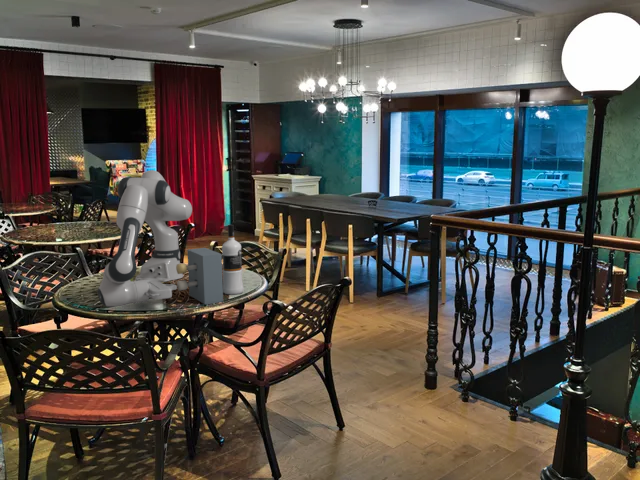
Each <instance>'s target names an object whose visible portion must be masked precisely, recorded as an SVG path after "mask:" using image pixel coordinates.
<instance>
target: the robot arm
mask: <svg viewBox="0 0 640 480" xmlns="http://www.w3.org/2000/svg"><path fill="white" fill-rule="evenodd" d="M117 195H118V198H120V201H119V203H118V207H117V212H116V225H117V227H118V228H119V229H120V232H121V233H120V240H119V243H118V248H117V252H116V254H115V256H114V257H112V259H111V260H110V262H108V263H107V264H106V266H104V267H105V268H104V270H103V277H102V279H101V282H100V285H99V287H98V288H97V297H98V300H99V301H100V303H101V304H102V305H103V306H104V307H110V308H111V307H121V306H126V305H128V304H141V303H147V302H148V301H149V299H152V300H164V299H165V300H166V299H170V298H172V296H173V291H175V290H178V287H177V284H175V283H170V284H169V283H164V282H169V281H174V280H179V279H182V278H183V277H184V273H182V274H178V273H177V270H176V266H177V264H181V261H180V260H181V251H180V247H179V234H178V232H177V231H176V230H175V229H174V228H171V227H170V226H168V225H167V224H166V222H180V221H184V220H188V219H189V218H190V217H191V216H192V214H193V206H192V204H191V202H190V201H189V200H188V199H186V198H184V197H180V196H179V195H176V194H174V192H172V191H171V185H170V184H169V183H168V181H166V180H165V178H164V177H163V175H162V174H161V173H160V172H159V171H156V170H154V169H153V170H152V169H151V170H147V171H144V173H143V174H141V177H132V176H125V177H123V178H122V179H120V180H119V182H118V184H117ZM144 222H146V224H147V225H148V226H149V227H150V229H151V232H152V234H153V239H154V248H153V249H152V250H151V251H150V255H151V258H149V259H148V260H146V262H145V263H143V264H142V265H141V267H140V272H139V274H137V275H136V273H137V269H138V268H137V261H136V248H137V244H138V240H139V239H138V238H139V235H140V232H141V230H142V228H143V226H144ZM134 276H135V280H133V281H130V279H132V278H133V279H134Z"/></svg>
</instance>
